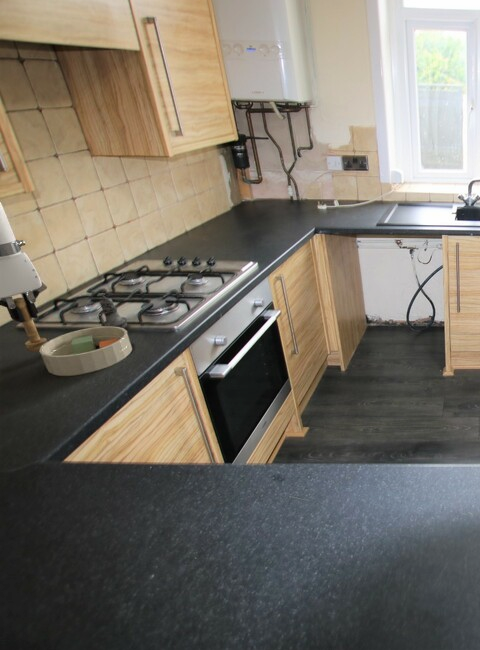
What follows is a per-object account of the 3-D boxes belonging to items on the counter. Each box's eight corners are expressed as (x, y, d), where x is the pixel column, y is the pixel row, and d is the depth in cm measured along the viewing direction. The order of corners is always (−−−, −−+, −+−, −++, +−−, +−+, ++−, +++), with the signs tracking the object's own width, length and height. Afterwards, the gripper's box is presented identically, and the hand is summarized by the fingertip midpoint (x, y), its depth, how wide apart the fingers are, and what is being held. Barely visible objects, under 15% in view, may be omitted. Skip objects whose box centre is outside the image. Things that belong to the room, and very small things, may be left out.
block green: (76, 358, 123) (71, 344, 122) (77, 352, 126) (72, 339, 124) (96, 354, 126) (91, 340, 124) (96, 348, 128) (91, 335, 127)
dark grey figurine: (107, 339, 135) (90, 301, 130) (106, 332, 139) (89, 295, 134) (132, 333, 138) (117, 296, 133) (130, 325, 142) (115, 289, 137)
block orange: (104, 361, 122) (99, 347, 121) (103, 355, 125) (99, 341, 124) (123, 356, 125) (119, 343, 123) (122, 351, 127) (118, 337, 126)
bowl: (45, 385, 113) (36, 363, 110) (50, 357, 125) (42, 336, 123) (134, 364, 123) (128, 344, 120) (131, 340, 135) (125, 321, 133)
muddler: (27, 353, 121) (6, 303, 116) (28, 347, 124) (7, 298, 119) (48, 348, 124) (28, 299, 118) (48, 342, 127) (29, 294, 121)
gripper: (29, 240, 121) (54, 305, 129) (-58, 256, 108) (-24, 328, 115) (46, 243, 119) (71, 310, 126) (-40, 261, 105) (-6, 334, 113)
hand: (26, 318), depth 121 cm, fingers closed on muddler, 2 cm apart
